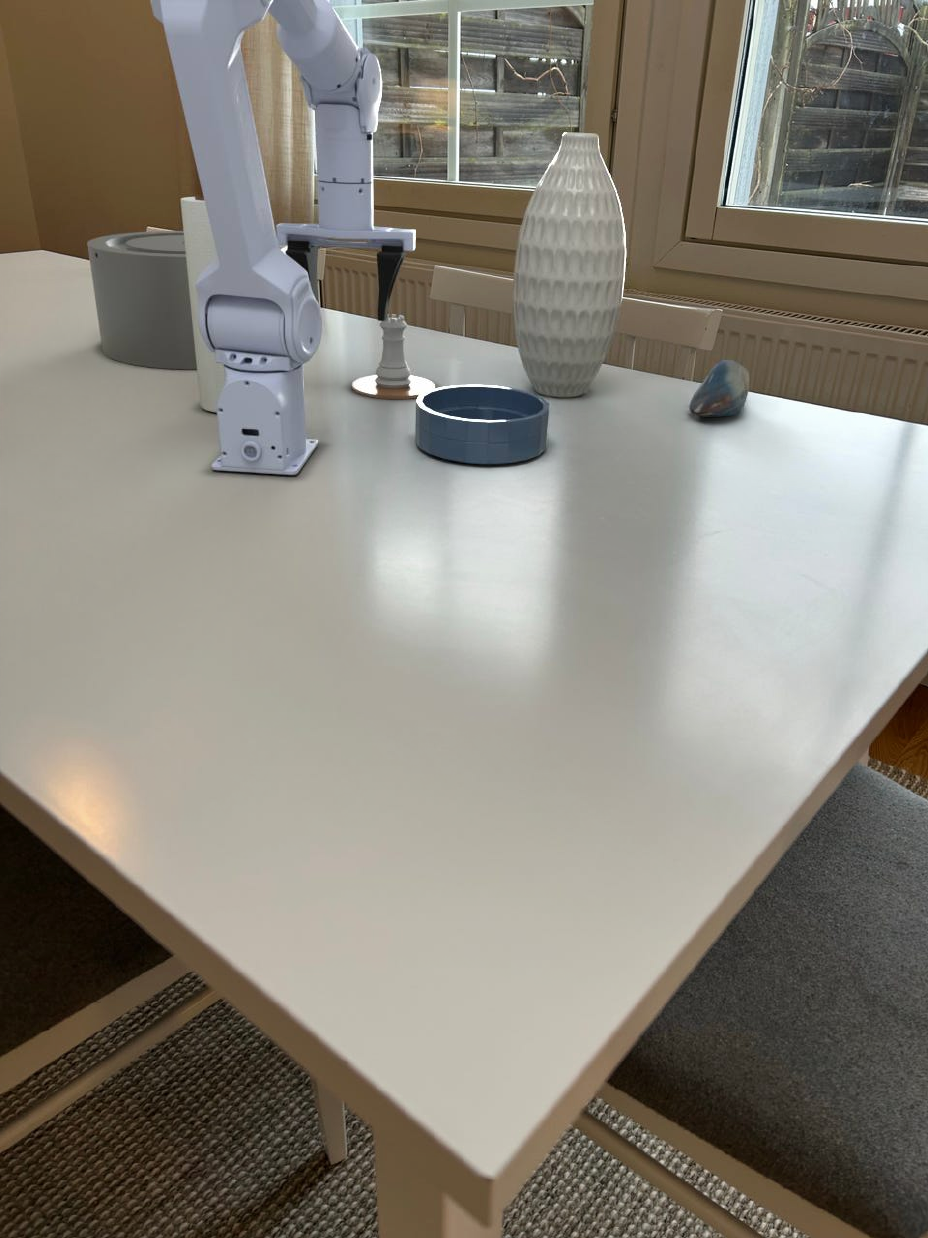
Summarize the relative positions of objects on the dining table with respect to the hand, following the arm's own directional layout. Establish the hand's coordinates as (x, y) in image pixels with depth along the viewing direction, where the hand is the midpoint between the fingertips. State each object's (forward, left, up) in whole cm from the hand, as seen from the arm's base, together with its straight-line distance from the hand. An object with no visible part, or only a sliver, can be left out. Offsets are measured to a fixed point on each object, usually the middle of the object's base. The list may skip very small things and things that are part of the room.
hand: (348, 317), depth 104 cm
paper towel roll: (-5, +12, -10) cm, 16 cm away
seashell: (+4, -43, -10) cm, 44 cm away
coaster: (+7, -4, -9) cm, 12 cm away
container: (+22, +25, -10) cm, 35 cm away
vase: (+10, -24, -10) cm, 28 cm away
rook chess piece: (+7, -4, -9) cm, 12 cm away
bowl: (-13, -16, -9) cm, 23 cm away
